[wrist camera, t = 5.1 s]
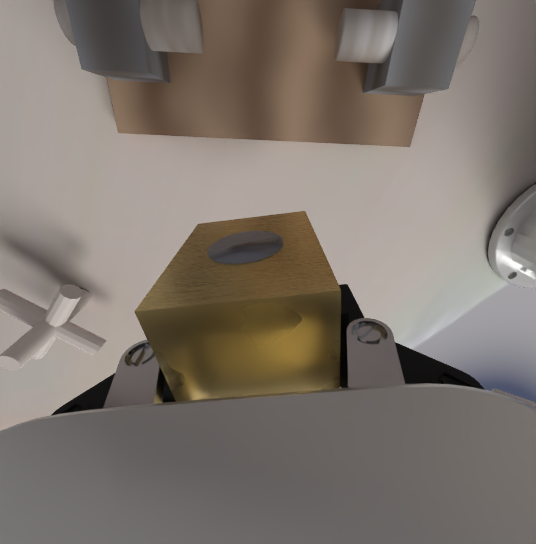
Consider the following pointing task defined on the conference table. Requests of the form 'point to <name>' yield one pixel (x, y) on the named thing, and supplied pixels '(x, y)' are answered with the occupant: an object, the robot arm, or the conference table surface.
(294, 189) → the conference table surface
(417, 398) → the robot arm
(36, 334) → the pipe connector
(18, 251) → the conference table surface
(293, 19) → the shaft stand
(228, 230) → the block
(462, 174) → the conference table surface
